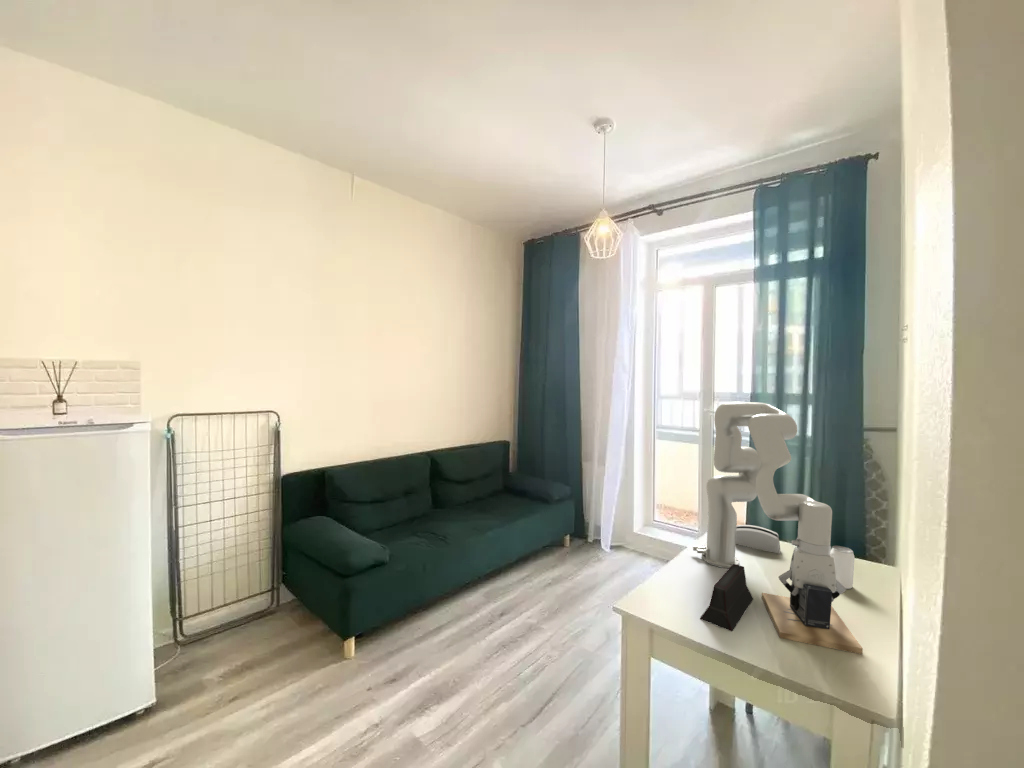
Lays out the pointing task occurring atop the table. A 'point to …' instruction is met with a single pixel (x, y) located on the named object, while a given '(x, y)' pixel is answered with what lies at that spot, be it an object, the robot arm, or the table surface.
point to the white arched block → (757, 538)
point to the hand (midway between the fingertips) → (809, 609)
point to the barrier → (729, 599)
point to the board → (797, 631)
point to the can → (843, 565)
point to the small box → (814, 606)
